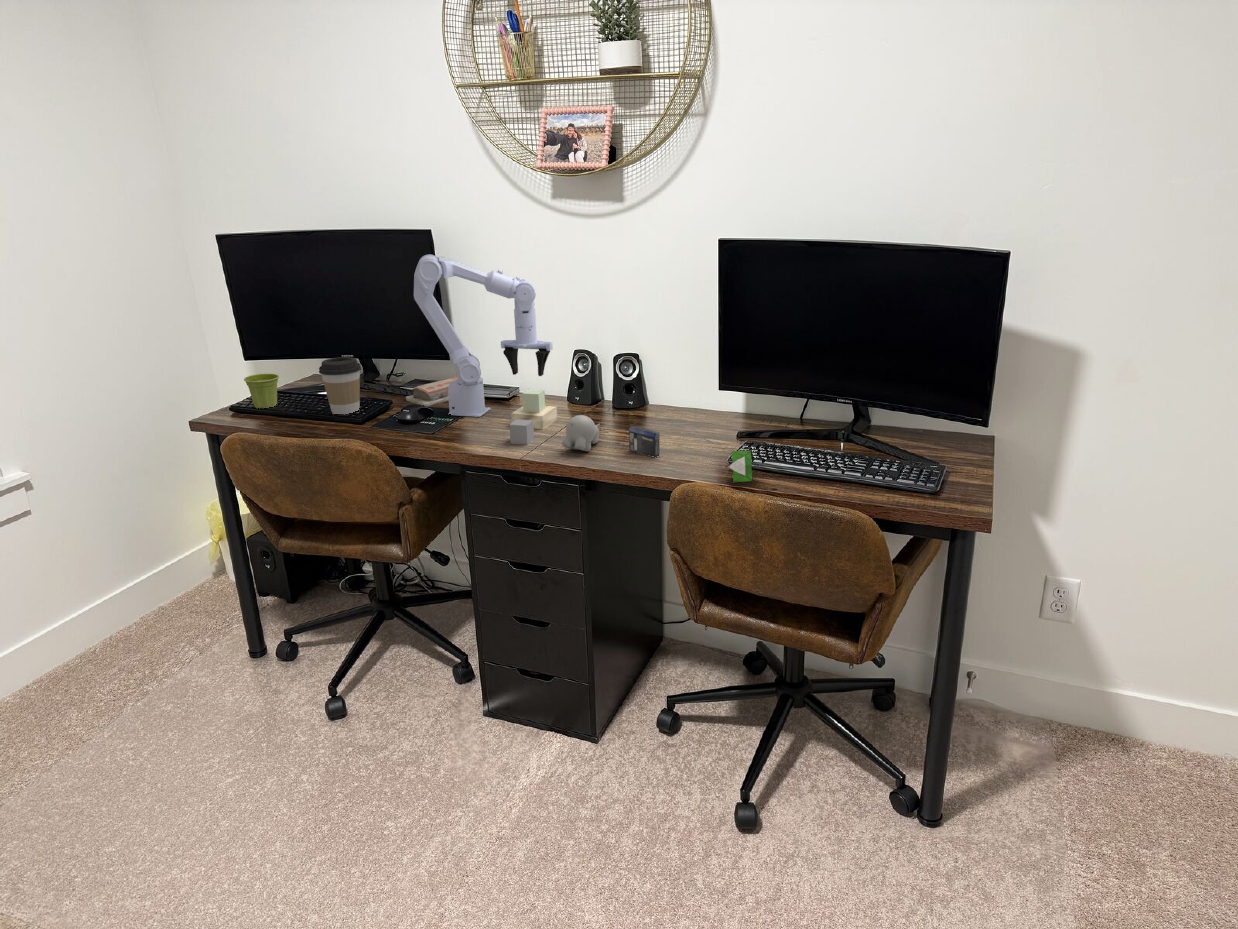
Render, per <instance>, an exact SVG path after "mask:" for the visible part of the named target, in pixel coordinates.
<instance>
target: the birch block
mask: <svg viewBox="0 0 1238 929" xmlns="http://www.w3.org/2000/svg"><path fill="white" fill-rule="evenodd" d="M557 409H558V408H557V406H553V405H545V409H543V410H542V411H541V412H540V413H536V412H523V405H522V406H521V407H519V408H517V409H516V410H514V411H512V412H511V423H512V422H514V421H515V420H516V419H520V420H533V428H534V429H535V430H545V429H547V427H549V426H551V425H552V424H553V423H554V422H556V421H558V410H557Z"/></svg>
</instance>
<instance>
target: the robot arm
mask: <svg viewBox="0 0 1238 929" xmlns="http://www.w3.org/2000/svg"><path fill="white" fill-rule="evenodd" d="M414 271H415V272H414V274H413V275H414V276H413V277H414V278H413V300H414V301H415V302H416V304H417V306H418V307H419V309H420V310H421V312H422V313H423V315H424V316H425V318H426V320H427V321H428V323H429V325H430V326H431V328H432V329H433V330H434V333H435V334H436V335H437V337H438V339H439V340H440V342H441V344H442V345H443V346H444V348H445V349H446V351H447V353H448V354H449V357H450V358H451V361H452V363H453V365H454V366H455V368H456V372H457V377H459V378H458V379H457V381H452V382H451V383H450V384H449V387H448V409H449V412H448V415H449V414H451V415H450V416H457V417H458V416H460V417H474V418H475V417H476V418H480V417H481V416H483V415H484V414H486V413H488V412H490V411H491V409H492V408H491V407H488V406H487V407H486V405H485V404H486V403H485V402H486V401H485V390H484V379H483V378H482V377H481V375H482V370H481V364H480V361H479V359H478V358H477V357H476V356H475V355H473V354H472V353H471V352H470V350H469V348H467V347H466V345H465V344H464V342H463V341H462V339H461V338H460V336H459V334H458V333H457V331H456V330H455V328H454V326H453V325H452V324H451V322H450V320H449V319H448V317H447V315H446V314H445V312H444V310H443V309H442V307H441V306H440V303H438V301H437V300H436V298H435V296H434V291H435V289H436V285H437V283H438V281H439V280H440V279H441V277H442V275H443V279H447V278H452V277H458V278H460V279H464V280H466V281H467V280H468V281H470V282H474V283H476V284H480V285H483V286H484V288H485V289H486V291H487V292H489V293H491V294H495V295H497V296H500V297H503V298H505V299H514V309H513V315H514V318H513V319H514V331H515V332H514V335H515V339H503V340H501V341H500V349H503V355H504V356H505V358H506V359H507V361H508V364H509V366H510V369H511V372H512V375H515V376H516V375H517V374H518V373H519V362H518V355H519V349H521V350H522V349H523V350H537V351H535V357H536V361H537V375H538V377H542V376H544V372H545V366H546V363H547V360H548V357H549V355H550V353H551V351H552V350H553V342H552V341H551V342H550V341H543V340H537V338H538V337H537V323H536V322H537V320H536V319H537V318H536V308H535V299H536V297H537V293H536V291H535V288H534V287H533V285H532V284H531V283H530V282H529V281H527V280H525V279H522V278H521V277H518V276H516V277H513V276H510V275H507V274H504V272H503V270H500V269H497V271H496V270H491V271H490V272H485V271H482V270H479V269H476V268H475V267H472V266H469V265H467V264H463V263H461V262H459V261H457V260H454V259H449V258H446V257H442V256H439V257H438V256H437V255H434V254H425V255H423V256H421V257H420V258H419V261H418V263H417V265H416V268H415V270H414Z"/></svg>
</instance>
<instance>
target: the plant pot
mask: <svg viewBox="0 0 1238 929" xmlns="http://www.w3.org/2000/svg"><path fill="white" fill-rule="evenodd" d="M279 378H280V375H279V374H277V373H257V374H252V375H248V376H246V377H244V378H243V381H244V382H245V384H246V386H247V388H248V390H249V394H250V396H251V399H252V404H253V405H254V408H255V407H256V409H258V408H259V409H264V408H268V409H270V408H269V407H273V408H275V407H276V406H277V405H278V382H279ZM276 404H277V405H276ZM274 406H275V407H274Z"/></svg>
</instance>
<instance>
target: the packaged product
mask: <svg viewBox="0 0 1238 929" xmlns="http://www.w3.org/2000/svg"><path fill="white" fill-rule="evenodd" d="M458 378H459V377H458V376H454V377H449V378H445V379H441V380H437V381H434V382H430V383H429V382H428V383H425V384H421V385H417V386H415V387H413V388H412V395H407V396H405V400H406V401H407V402H409V403H412V404H416V405H419V406H423V405H424V406H423V407H429V406H432V405H436V404H440V403H443V402H449V400H448V387H449V384H450V383H451V382H452V381H457V379H458Z"/></svg>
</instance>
